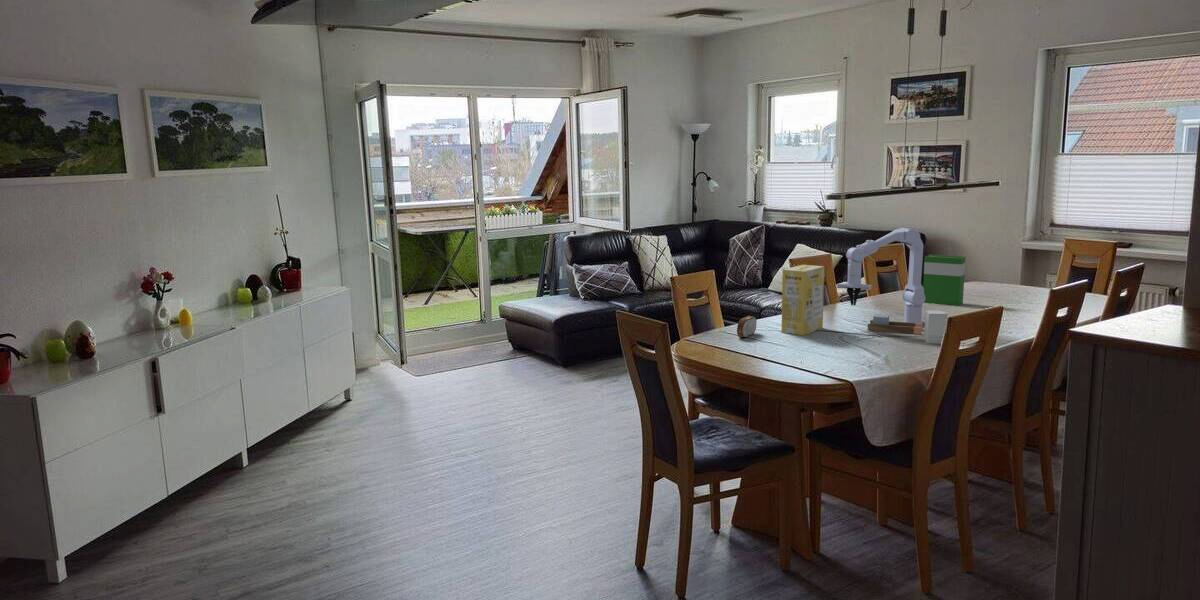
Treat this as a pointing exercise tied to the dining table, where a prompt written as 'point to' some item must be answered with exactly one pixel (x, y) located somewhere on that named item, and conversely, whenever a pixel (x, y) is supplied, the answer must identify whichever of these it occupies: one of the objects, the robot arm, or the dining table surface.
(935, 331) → the supplement box
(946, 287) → the hardback book
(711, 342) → the dining table surface
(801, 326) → the pasta box
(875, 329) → the brown wooden rails
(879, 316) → the block
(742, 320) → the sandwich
